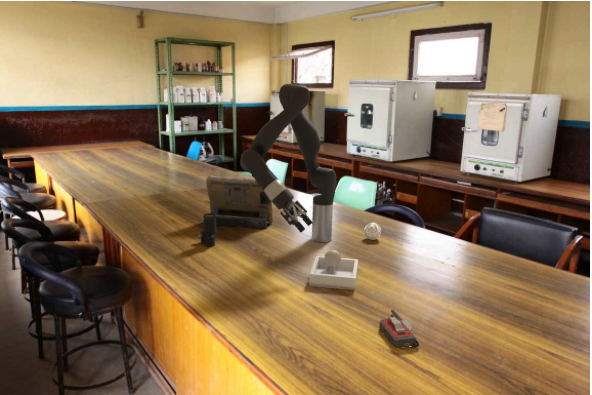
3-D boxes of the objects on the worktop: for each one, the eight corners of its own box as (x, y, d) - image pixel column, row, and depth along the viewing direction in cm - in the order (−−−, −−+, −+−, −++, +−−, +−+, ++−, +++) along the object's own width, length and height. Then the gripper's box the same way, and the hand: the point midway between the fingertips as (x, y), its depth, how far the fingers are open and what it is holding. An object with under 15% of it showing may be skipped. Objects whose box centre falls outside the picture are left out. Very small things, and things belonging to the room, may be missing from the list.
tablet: (274, 221, 234) (274, 174, 228) (270, 229, 221) (270, 179, 215) (212, 218, 237) (211, 171, 231) (204, 226, 223) (203, 176, 217)
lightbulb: (325, 266, 163) (329, 244, 171) (319, 275, 167) (323, 253, 175) (340, 272, 163) (343, 249, 171) (334, 281, 167) (337, 259, 175)
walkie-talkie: (425, 349, 123) (394, 314, 142) (427, 334, 122) (395, 301, 141) (395, 352, 121) (368, 316, 140) (397, 338, 120) (369, 303, 139)
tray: (316, 266, 177) (316, 255, 176) (357, 270, 174) (358, 259, 173) (309, 285, 160) (309, 274, 159) (354, 290, 157) (355, 278, 156)
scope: (214, 210, 201) (222, 215, 193) (214, 239, 205) (222, 246, 196) (196, 212, 197) (203, 218, 189) (196, 242, 201) (204, 249, 192)
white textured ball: (361, 240, 209) (362, 224, 207) (366, 235, 216) (367, 220, 214) (378, 243, 206) (379, 226, 204) (382, 238, 212) (384, 222, 210)
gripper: (278, 191, 159) (308, 227, 158) (292, 184, 172) (320, 216, 171) (264, 204, 162) (293, 239, 161) (279, 196, 175) (306, 228, 174)
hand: (307, 227), depth 166 cm, fingers open, 8 cm apart
